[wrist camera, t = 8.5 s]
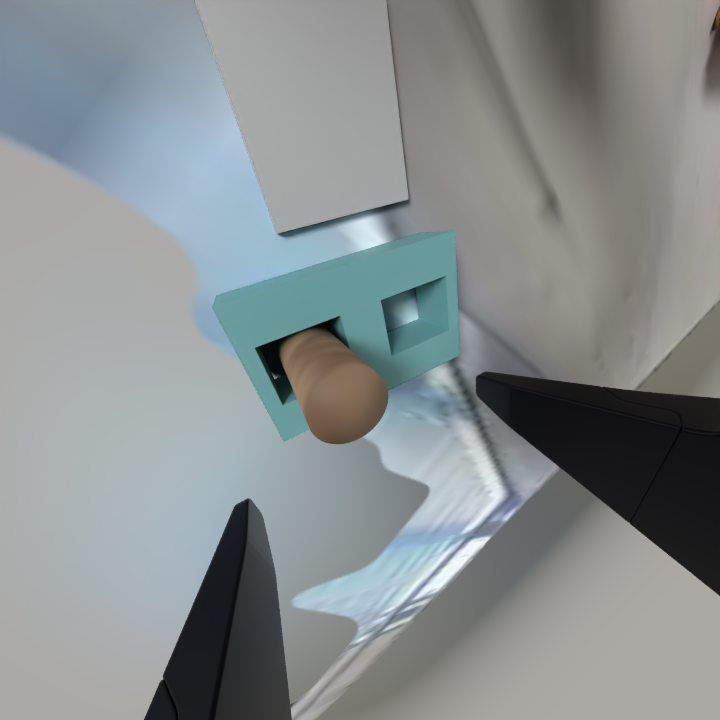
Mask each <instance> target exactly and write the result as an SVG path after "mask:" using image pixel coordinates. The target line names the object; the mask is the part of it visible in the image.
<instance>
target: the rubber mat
mask: <svg viewBox="0 0 720 720" xmlns="http://www.w3.org/2000/svg"><path fill="white" fill-rule="evenodd" d="M194 1H195V4H196V7H197V9H198V12H199V15H200V18H201V21H202V24H203V26H204V29H205V32H206V35H207V38H208V41H209V43H210V46H211V49H212V52H213V55H214V58H215V60H216V63H217V66H218V69H219V72H220V75H221V77H222V80H223V83H224V86H225V89H226V92H227V95H228V97H229V100H230V103H231V106H232V109H233V112H234V114H235V117H236V120H237V123H238V126H239V129H240V131H241V134H242V137H243V140H244V143H245V146H246V148H247V151H248V154H249V157H250V160H251V163H252V165H253V168H254V171H255V174H256V177H257V180H258V182H259V185H260V188H261V191H262V194H263V197H264V199H265V202H266V205H267V208H268V211H269V214H270V216H271V219H272V222H273V225H274V228H275V231H276V234H278V233H282V232H286V231H290V230H293V229H297V228H301V227H305V226H309V225H313V224H316V223H320V222H324V221H328V220H332V219H335V218H339V217H343V216H347V215H351V214H355V213H358V212H362V211H366V210H370V209H374V208H377V207H381V206H385V205H389V204H393V203H397V202H400V201H404V200H408V199H409V198H408V189H407V180H406V172H405V163H404V154H403V145H402V136H401V127H400V119H399V110H398V101H397V92H396V83H395V74H394V65H393V57H392V48H391V39H390V30H389V21H388V12H387V4H386V0H194Z"/></svg>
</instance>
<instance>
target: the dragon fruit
mask: <svg viewBox="0 0 720 720" xmlns="http://www.w3.org/2000/svg"><path fill="white" fill-rule="evenodd" d="M719 23H720V8H719V10H718V12H717V15H716V19H715V26H714V30H715V29H716V28H717V26H718V25H719Z"/></svg>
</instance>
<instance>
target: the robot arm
mask: <svg viewBox="0 0 720 720" xmlns="http://www.w3.org/2000/svg"><path fill="white" fill-rule="evenodd" d="M476 394H477V396H478V397H479V398H480V399H481V400H482V401H483V402H484V403H485V404H486V405H487V406H488V407H489V408H490V409H491V410H492V411H493V412H494V413H495V414H496V415H497V416H498V417H499V418H500V419H501V420H502V421H503V422H505V423H506V424H507V425H508V426H509V427H510V428H511V429H513V430H514V431H515V432H516V433H518V434H519V435H520V436H521V437H523V438H524V439H525V440H526V441H528V442H529V443H530V444H531V445H533V446H534V447H535V448H536V449H538V450H539V451H540V452H541V453H543V454H544V455H545V456H546V457H548V458H549V459H550V460H551V461H553V462H554V463H555V464H556V465H557V466H559V467H560V468H561V469H562V470H564V471H565V472H566V473H567V474H569V475H570V476H571V477H572V478H574V479H575V480H576V481H577V482H579V483H580V484H581V485H583V486H584V487H585V488H586V489H587V490H589V491H590V492H591V493H592V494H594V495H595V496H596V497H597V498H599V499H600V500H601V501H602V502H604V503H605V504H606V505H607V506H609V507H610V508H611V509H613V510H614V511H615V512H616V513H617V514H619V515H620V516H621V517H622V518H624V519H625V520H626V521H627V522H630V524H631V525H632V526H633V527H635V528H636V529H637V530H638V531H640V532H641V533H642V534H643V535H645V536H646V537H647V538H648V539H649V540H651V541H652V542H653V543H654V544H656V545H657V546H658V547H659V548H661V549H662V550H663V551H664V552H666V553H667V554H668V555H669V556H671V557H672V558H673V559H674V560H676V561H677V562H678V563H679V564H681V565H682V566H683V567H684V568H686V569H687V570H688V571H689V572H691V573H692V574H693V575H694V576H696V577H697V578H698V579H699V580H701V581H702V582H703V583H704V584H706V585H707V586H708V587H709V588H710V589H712V590H713V591H714V592H716V593H717V594H718V595H719V596H720V398H710V397H698V396H686V395H674V394H663V393H652V392H641V391H633V390H624V389H616V388H608V387H600V386H593V385H585V384H578V383H570V382H562V381H554V380H547V379H539V378H531V377H524V376H516V375H508V374H501V373H493V372H483V373H481V374H480V375H478V376H477V377H476ZM285 664H286V663H285V654H284V645H283V636H282V627H281V618H280V609H279V600H278V591H277V583H276V574H275V568H274V564H273V559H272V555H271V550H270V546H269V541H268V537H267V532H266V528H265V523H264V519H263V516H262V514H261V512H260V511H259V509H258V508H257V507H256V506H255V504H254V503H253V501H252V500H251V499H246V500H244V501H242V502H240V503H238V504H236V505H235V507H234V509H233V511H232V513H231V516H230V518H229V521H228V523H227V525H226V527H225V530H224V532H223V535H222V537H221V539H220V542H219V544H218V546H217V549H216V552H215V554H214V556H213V559H212V561H211V563H210V565H209V568H208V570H207V572H206V575H205V577H204V579H203V582H202V585H201V587H200V589H199V592H198V594H197V596H196V598H195V601H194V603H193V606H192V608H191V610H190V613H189V615H188V618H187V620H186V622H185V625H184V627H183V629H182V632H181V634H180V636H179V639H178V641H177V643H176V646H175V648H174V651H173V653H172V655H171V658H170V660H169V662H168V665H167V667H166V669H165V672H164V674H163V680H161V682H160V683H159V686H158V688H157V690H156V693H155V695H154V697H153V700H152V702H151V704H150V707H149V710H148V712H147V714H146V716H145V718H144V720H292V718H291V708H290V700H289V690H288V681H287V672H286V665H285Z"/></svg>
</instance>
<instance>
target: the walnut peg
mask: <svg viewBox="0 0 720 720" xmlns="http://www.w3.org/2000/svg"><path fill="white" fill-rule="evenodd" d="M274 342H275V348H276V351H277V353H278V355H279V358H280V360H281V362H282V365H283V367H284V370H285V372H286V374H287V377H288V379H289V381H290V384H291V386H292V388H293V391H294V393H295V396H296V398H297V400H298V403H299V405H300V407H301V410H302V412H303V414H304V417H305V419H306V422H307V424H308V426H309V428H310V430H311V432H312V433H313V434H314V435H315V436H316V437H317V438H318V439H320V440H321V441H324V442H326V443H330V444H344V443H349V442H352V441H355V440H357V439H359V438H361V437H363V436H364V435H366V434H367V433H368V432H370V431H371V430H372V429H373V428H374V427H375V426H376V425H377V423H378V422H379V421H380V419H381V418H382V416H383V414H384V412H385V410H386V407H387V403H388V389H387V386H386V383H385V381H384V380H383V378H382V377H381V376H380V375H379V374H378V373H377V372H375V371H374V370H373V369H372V368H371V367H370V366H369V365H367V364H366V363H365V362H364V361H363V360H362V359H360V358H359V357H358V356H357V355H356V354H355V353H354V352H352V351H351V350H350V349H349V348H348V347H347V346H346V345H344V344H343V343H342V342H341V341H340V340H339V339H337V338H336V337H335V336H334V335H333V334H332V333H331V332H329V331H328V330H327V329H326V328H325V327H324V326H323V325H321V324H320V323H319V324H316V325H314V326H311V327H308V328H306V329H303V330H301V331H298V332H295V333H293V334H290V335H287V336H285V337H282V338H279V339H277V340H274Z"/></svg>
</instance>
